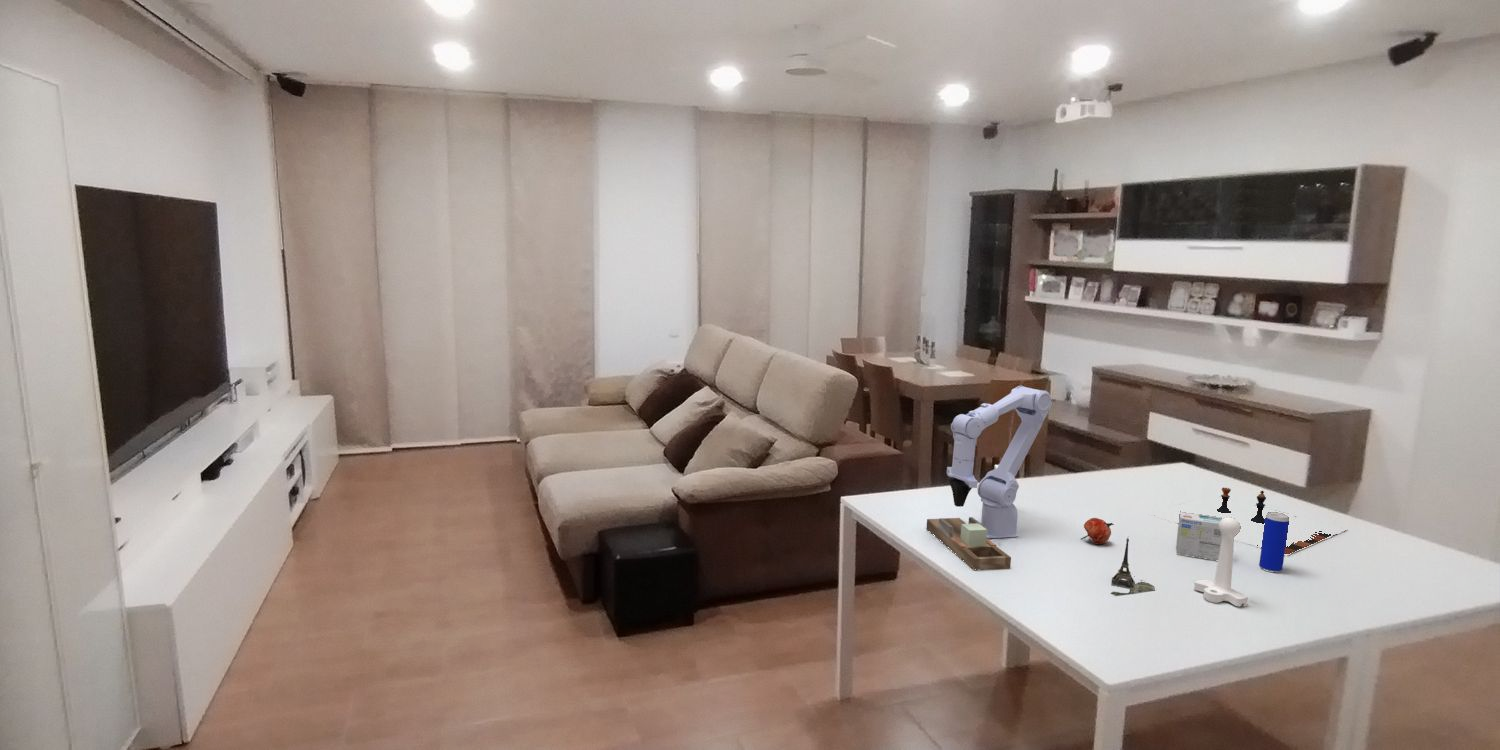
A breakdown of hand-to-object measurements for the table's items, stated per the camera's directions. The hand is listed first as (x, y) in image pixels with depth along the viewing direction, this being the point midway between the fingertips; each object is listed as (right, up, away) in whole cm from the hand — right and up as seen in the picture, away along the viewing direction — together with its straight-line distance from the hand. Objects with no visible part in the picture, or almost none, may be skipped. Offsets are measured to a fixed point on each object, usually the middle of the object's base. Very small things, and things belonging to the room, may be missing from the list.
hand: (958, 505), depth 226 cm
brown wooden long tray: (+1, -11, -3) cm, 11 cm away
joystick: (+54, -17, -32) cm, 65 cm away
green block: (+2, -9, -8) cm, 12 cm away
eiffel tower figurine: (+34, -16, -25) cm, 45 cm away
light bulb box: (+64, -13, -3) cm, 66 cm away
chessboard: (+95, -10, +25) cm, 98 cm away
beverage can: (+78, -15, -13) cm, 81 cm away
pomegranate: (+40, -11, +4) cm, 41 cm away
